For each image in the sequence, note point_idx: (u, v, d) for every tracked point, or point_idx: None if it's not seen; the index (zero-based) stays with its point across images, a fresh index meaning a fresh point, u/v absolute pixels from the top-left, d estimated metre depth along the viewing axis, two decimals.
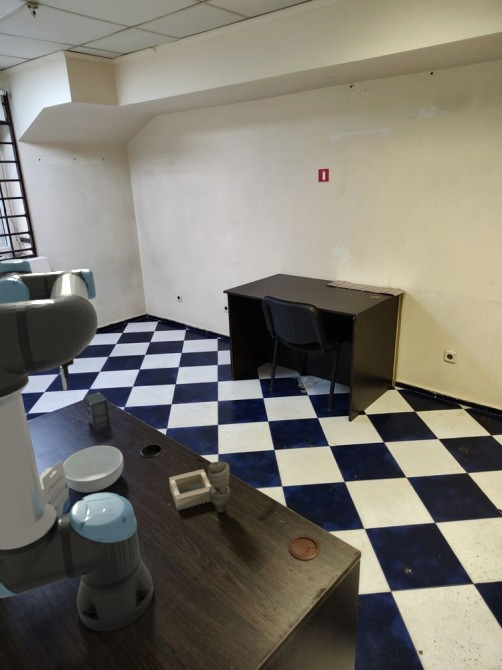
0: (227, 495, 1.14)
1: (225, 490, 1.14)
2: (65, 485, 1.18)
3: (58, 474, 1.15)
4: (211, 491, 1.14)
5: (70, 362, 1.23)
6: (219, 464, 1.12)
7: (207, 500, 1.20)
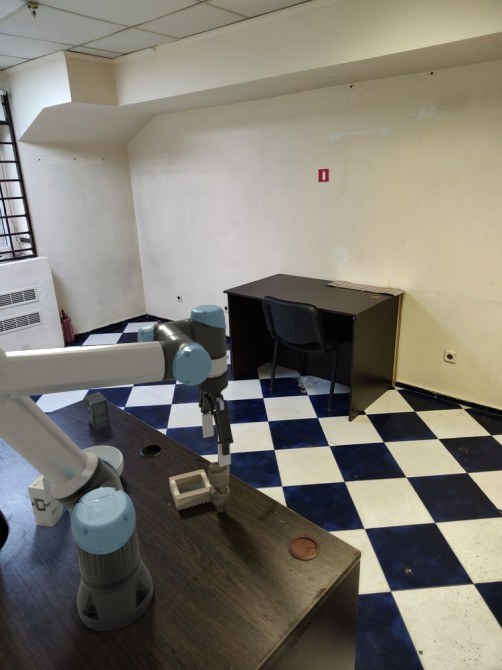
0: (227, 495, 1.14)
1: (225, 490, 1.14)
2: None
3: None
4: (211, 491, 1.14)
5: (221, 441, 1.00)
6: None
7: (207, 500, 1.20)
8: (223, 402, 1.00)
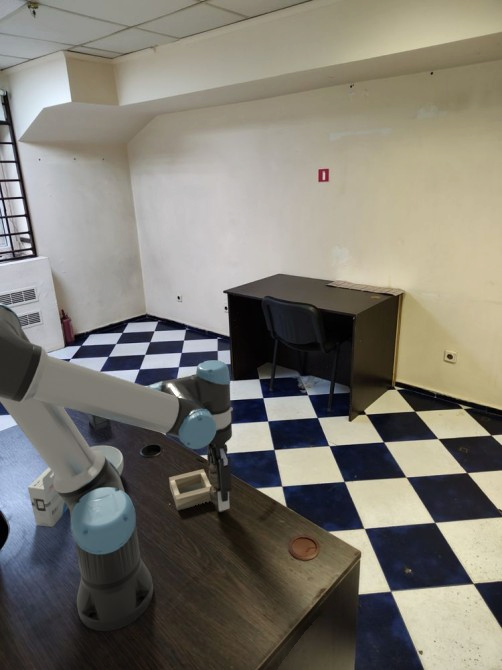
0: None
1: None
2: None
3: None
4: (211, 491, 1.14)
5: (221, 490, 1.08)
6: None
7: (207, 500, 1.20)
8: (227, 460, 1.05)
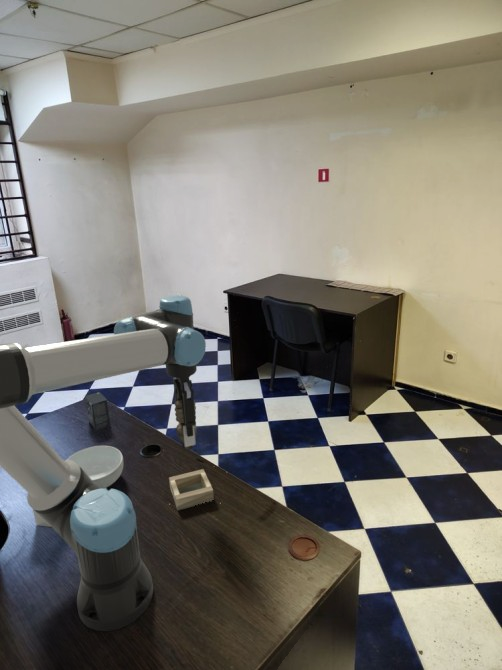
0: None
1: None
2: None
3: None
4: (178, 428, 1.16)
5: (185, 423, 1.10)
6: None
7: (207, 500, 1.20)
8: (190, 392, 1.07)
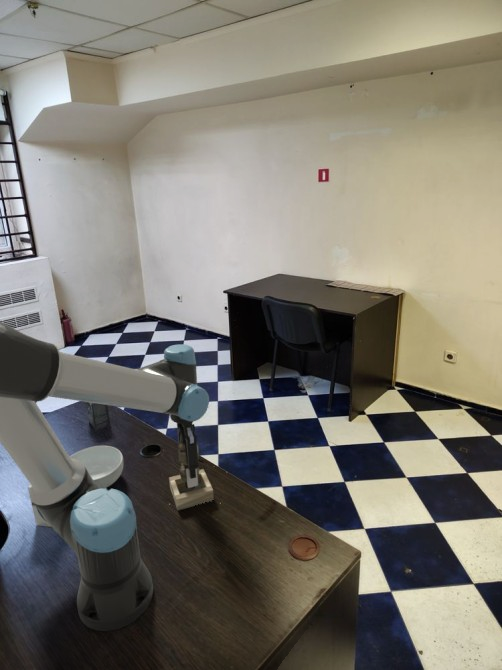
0: None
1: None
2: None
3: None
4: (181, 469, 1.20)
5: (188, 467, 1.14)
6: None
7: (207, 500, 1.20)
8: (193, 438, 1.11)
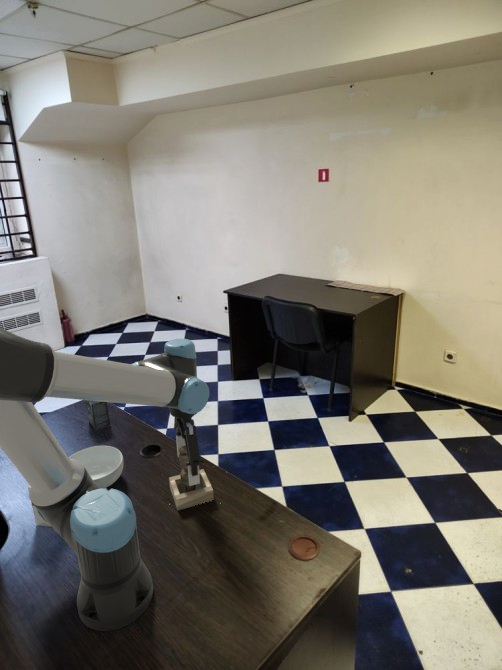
0: None
1: None
2: None
3: None
4: (182, 473, 1.20)
5: (190, 463, 1.10)
6: None
7: (207, 500, 1.20)
8: (192, 427, 1.10)
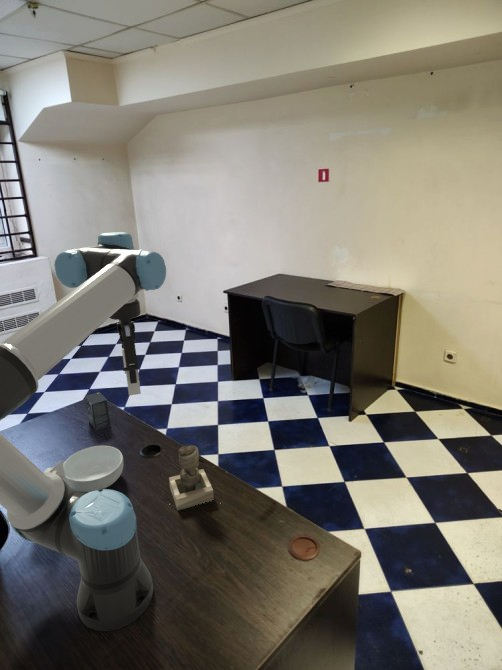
0: (197, 477, 1.20)
1: (195, 472, 1.20)
2: None
3: (58, 474, 1.15)
4: (181, 473, 1.20)
5: (126, 367, 1.00)
6: (188, 447, 1.18)
7: (207, 500, 1.20)
8: (129, 327, 1.00)
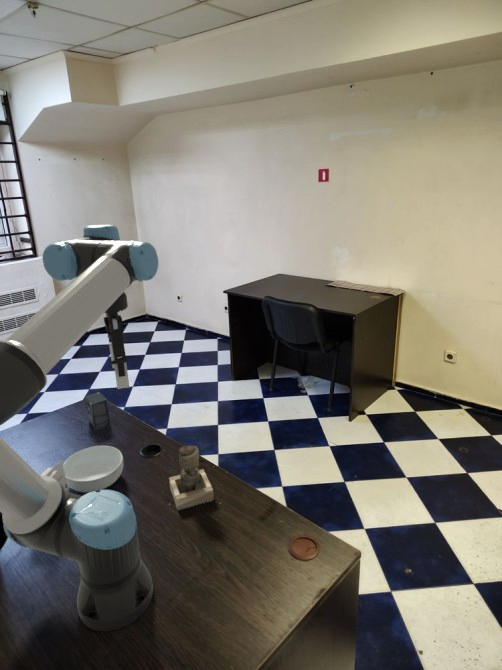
0: (197, 477, 1.20)
1: (195, 472, 1.20)
2: (65, 485, 1.18)
3: (58, 474, 1.15)
4: (182, 473, 1.20)
5: (114, 360, 0.99)
6: (189, 448, 1.18)
7: (207, 500, 1.20)
8: (116, 320, 1.00)
